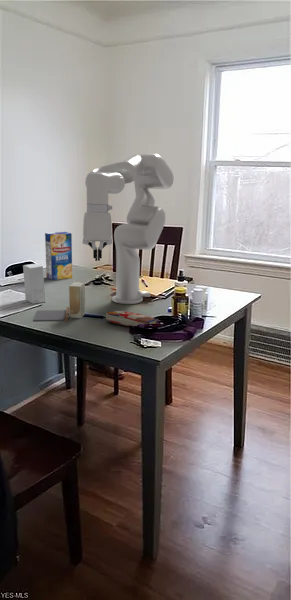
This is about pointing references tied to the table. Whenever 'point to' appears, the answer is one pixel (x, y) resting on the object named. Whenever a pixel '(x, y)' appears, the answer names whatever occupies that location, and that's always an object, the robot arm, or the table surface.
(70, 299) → the skincare box
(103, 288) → the table surface
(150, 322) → the pencil case
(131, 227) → the robot arm
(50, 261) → the beverage box
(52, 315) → the mat
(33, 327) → the table surface
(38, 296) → the skincare box
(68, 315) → the stop strip
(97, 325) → the table surface
